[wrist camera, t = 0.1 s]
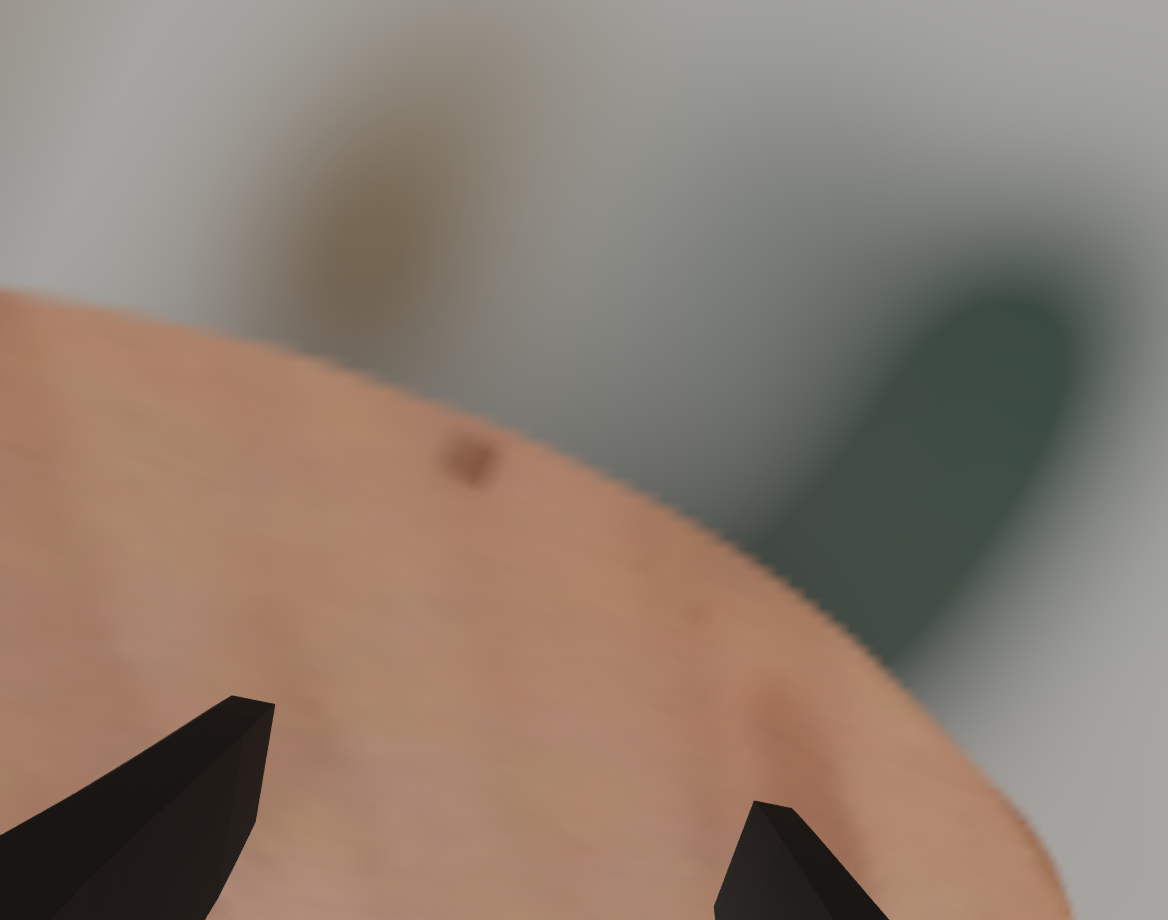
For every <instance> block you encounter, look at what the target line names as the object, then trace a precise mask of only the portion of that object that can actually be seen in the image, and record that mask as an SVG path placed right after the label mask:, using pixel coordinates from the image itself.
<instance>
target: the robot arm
mask: <svg viewBox="0 0 1168 920" xmlns="http://www.w3.org/2000/svg"><path fill="white" fill-rule="evenodd" d="M274 709H275V704H272V703H267V702H262V701H257V700H252V699H247V698H242V697H237V696H230V697H228V698H227V699H225V700H223V701H222V702H220V703H218V704H217V705H215V706H214V707H212V708H210V709H209V710H207V711H206V712H204V713H202V714H201V715H199V716H198V717H196V718H195V719H193V720H192V721H190V722H189V723H187V724H185V725H184V726H182V727H181V728H179V729H178V730H176V731H175V732H173V733H171V734H170V735H168V736H167V737H165V738H164V739H162V740H160V741H159V742H157V743H156V744H154V745H153V746H151V747H149V748H148V749H146V750H145V751H143V752H142V753H140V754H138V755H137V756H135V757H134V758H132V759H130V760H129V761H127V762H125V763H124V764H122V765H120V766H119V767H117V768H115V769H114V770H112V771H111V772H109V773H107V774H106V775H104V776H102V777H101V778H99V779H97V780H96V781H94V782H93V783H91V784H89V785H88V786H86V787H84V788H83V789H81V790H79V791H78V792H76V793H74V794H73V795H71V796H69V797H67V798H66V799H64V800H62V801H61V802H59V803H57V804H55V805H53V806H52V807H50V808H48V809H46V810H45V811H43V812H41V813H39V814H37V815H36V816H34V817H32V818H30V819H29V820H27V821H25V822H23V823H21V824H20V825H18V826H16V827H14V828H12V829H11V830H9V831H7V832H5V833H4V834H2V835H0V920H205V919H206V917H207V915H208V914H209V912H210V911H211V909H212V907H213V906H214V904H215V902H216V901H217V899H218V897H219V895H220V893H221V891H222V889H223V887H224V885H225V883H226V881H227V879H228V877H229V875H230V873H231V871H232V869H233V867H234V865H235V863H236V861H237V859H238V857H239V855H240V853H241V851H242V849H243V847H244V845H245V843H246V841H247V839H248V837H249V835H250V832H251V830H252V828H253V826H254V824H255V822H256V816H257V810H258V805H259V799H260V793H261V787H262V781H263V775H264V769H265V763H266V757H267V751H268V745H269V739H270V733H271V727H272V721H273V715H274ZM714 913H715V920H889V919H888V918H887V917H886V915H885V914H884V913H883V912H882V911H881V910H880V909H879V907H878V906H877V905H876V904H875V903H874V902H873V900H872V899H871V898H870V897H869V896H868V895H867V893H866V892H865V891H864V890H863V889H862V888H861V886H860V885H859V884H858V883H857V882H856V881H855V879H854V878H853V877H852V876H851V875H850V874H849V872H848V871H847V870H846V869H845V868H844V866H843V865H842V864H841V863H840V862H839V861H838V859H837V858H836V857H835V856H834V855H833V854H832V852H831V851H830V850H829V849H828V848H827V847H826V845H825V844H824V843H823V842H822V841H821V840H820V839H819V837H818V836H817V835H816V834H815V833H814V832H813V831H812V829H811V828H810V827H809V826H808V825H807V824H806V823H805V822H804V820H803V819H802V818H801V817H800V816H799V815H798V814H797V813H796V812H795V811H794V810H793V809H792V808H789V807H784V806H779V805H774V804H769V803H764V802H759V801H754V802H753V804H752V807H751V810H750V812H749V815H748V818H747V820H746V823H745V826H744V828H743V831H742V834H741V836H740V839H739V841H738V844H737V847H736V849H735V852H734V855H733V857H732V860H731V863H730V865H729V868H728V871H727V873H726V876H725V878H724V881H723V884H722V886H721V889H720V892H719V894H718V897H717V900H716V902H715V905H714Z"/></svg>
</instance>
